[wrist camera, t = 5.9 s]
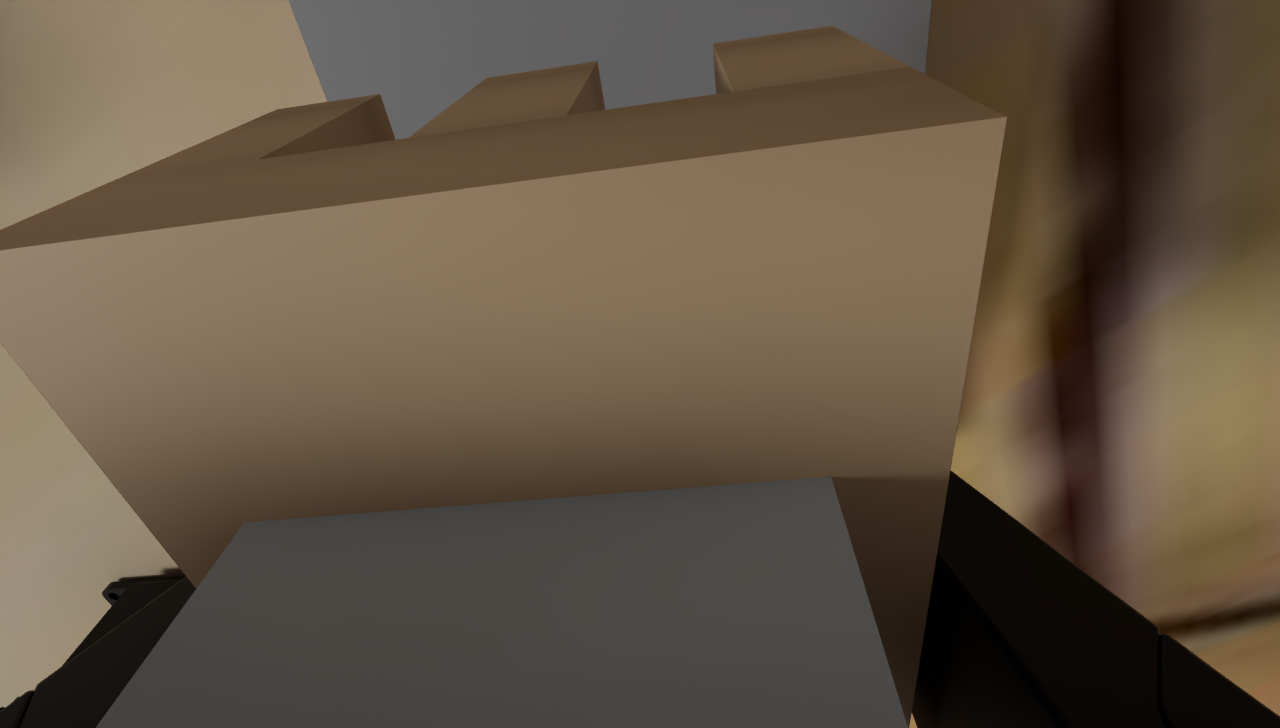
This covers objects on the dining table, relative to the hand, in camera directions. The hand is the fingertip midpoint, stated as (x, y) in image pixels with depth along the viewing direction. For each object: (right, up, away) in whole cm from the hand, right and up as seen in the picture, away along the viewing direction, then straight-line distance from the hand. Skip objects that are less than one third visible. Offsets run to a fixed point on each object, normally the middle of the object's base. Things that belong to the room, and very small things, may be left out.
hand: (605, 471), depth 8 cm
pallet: (0, +1, +1) cm, 1 cm away
